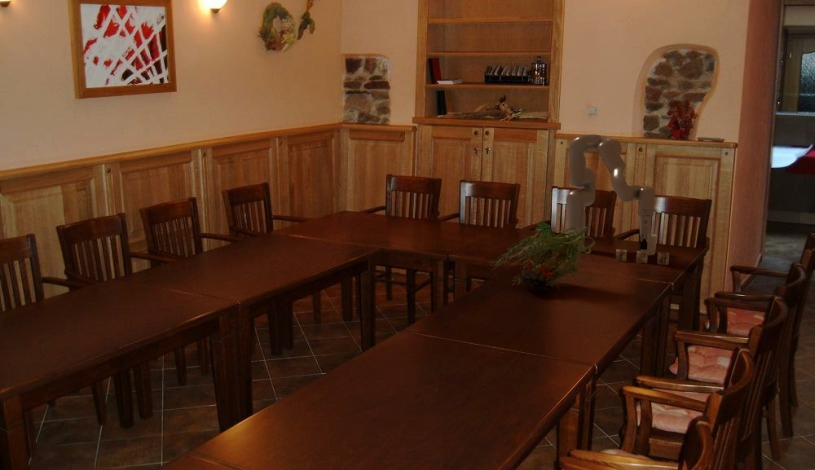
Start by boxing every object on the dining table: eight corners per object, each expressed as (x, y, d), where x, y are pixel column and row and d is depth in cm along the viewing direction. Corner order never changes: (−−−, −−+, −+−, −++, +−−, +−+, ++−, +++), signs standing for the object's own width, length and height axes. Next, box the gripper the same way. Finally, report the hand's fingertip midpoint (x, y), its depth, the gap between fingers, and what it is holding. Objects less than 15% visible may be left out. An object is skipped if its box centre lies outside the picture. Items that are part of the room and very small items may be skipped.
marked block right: (657, 264, 415) (658, 254, 414) (657, 262, 420) (658, 252, 419) (668, 265, 414) (669, 255, 413) (667, 262, 419) (668, 252, 418)
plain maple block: (636, 262, 418) (637, 252, 417) (636, 260, 422) (637, 250, 421) (647, 263, 416) (647, 253, 415) (646, 261, 421) (647, 251, 420)
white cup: (657, 255, 433) (659, 236, 431) (642, 255, 434) (643, 236, 432) (653, 252, 441) (655, 233, 439) (638, 252, 441) (639, 233, 439)
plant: (483, 264, 372) (542, 216, 390) (534, 326, 369) (591, 275, 387) (516, 237, 341) (578, 186, 359) (572, 305, 338) (632, 250, 356)
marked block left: (615, 261, 420) (616, 251, 419) (615, 258, 425) (616, 249, 424) (625, 261, 419) (626, 251, 418) (625, 259, 424) (626, 249, 423)
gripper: (654, 215, 406) (651, 252, 410) (653, 210, 421) (651, 246, 424) (637, 214, 408) (635, 251, 412) (637, 209, 422) (635, 246, 426)
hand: (643, 249), depth 418 cm, fingers closed
